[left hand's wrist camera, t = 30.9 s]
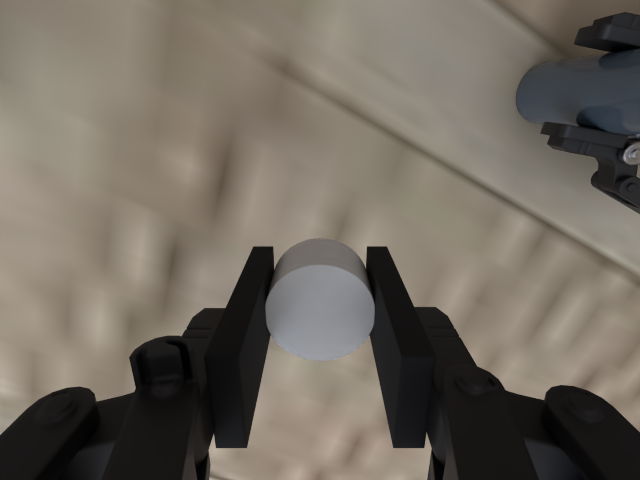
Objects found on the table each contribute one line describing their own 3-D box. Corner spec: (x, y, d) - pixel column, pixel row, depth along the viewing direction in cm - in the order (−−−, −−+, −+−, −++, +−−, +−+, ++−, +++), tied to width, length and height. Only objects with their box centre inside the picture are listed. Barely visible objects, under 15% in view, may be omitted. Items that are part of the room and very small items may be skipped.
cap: (383, 259, 14) (395, 290, 12) (342, 334, 15) (346, 374, 13) (294, 222, 14) (289, 247, 11) (259, 302, 15) (248, 339, 13)
